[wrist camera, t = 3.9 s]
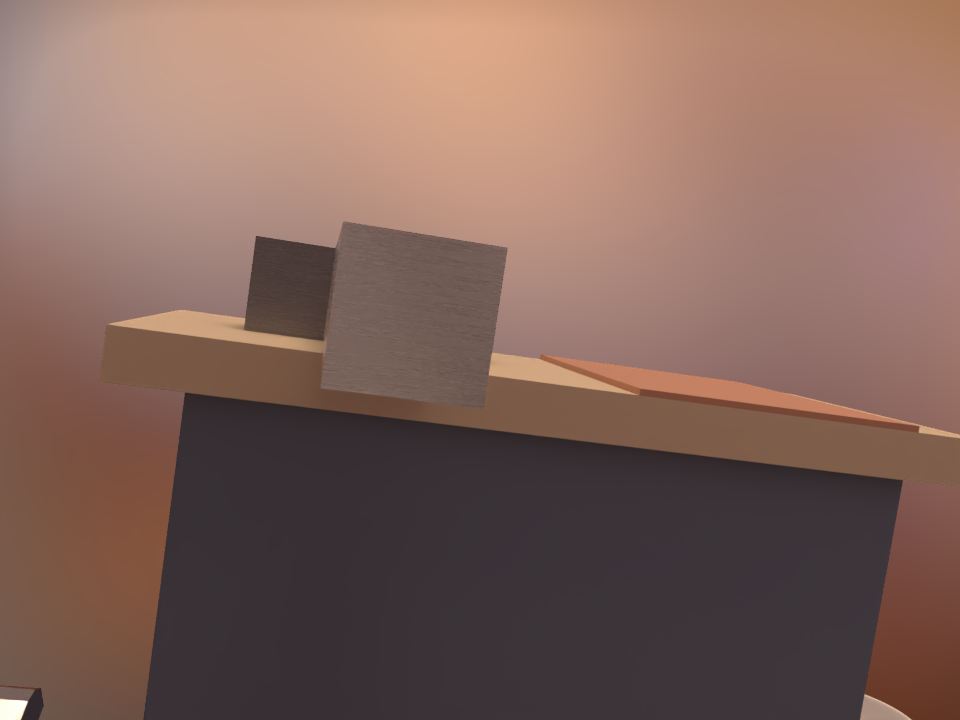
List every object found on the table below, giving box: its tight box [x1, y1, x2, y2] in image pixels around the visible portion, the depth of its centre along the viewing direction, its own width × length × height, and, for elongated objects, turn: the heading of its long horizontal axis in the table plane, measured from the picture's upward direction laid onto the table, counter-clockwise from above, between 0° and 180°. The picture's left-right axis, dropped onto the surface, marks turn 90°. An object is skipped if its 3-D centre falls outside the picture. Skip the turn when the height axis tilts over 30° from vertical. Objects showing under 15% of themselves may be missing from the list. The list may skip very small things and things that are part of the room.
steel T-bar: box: [244, 222, 507, 409], centre depth 24 cm, size 8×16×3 cm, turn 10°
